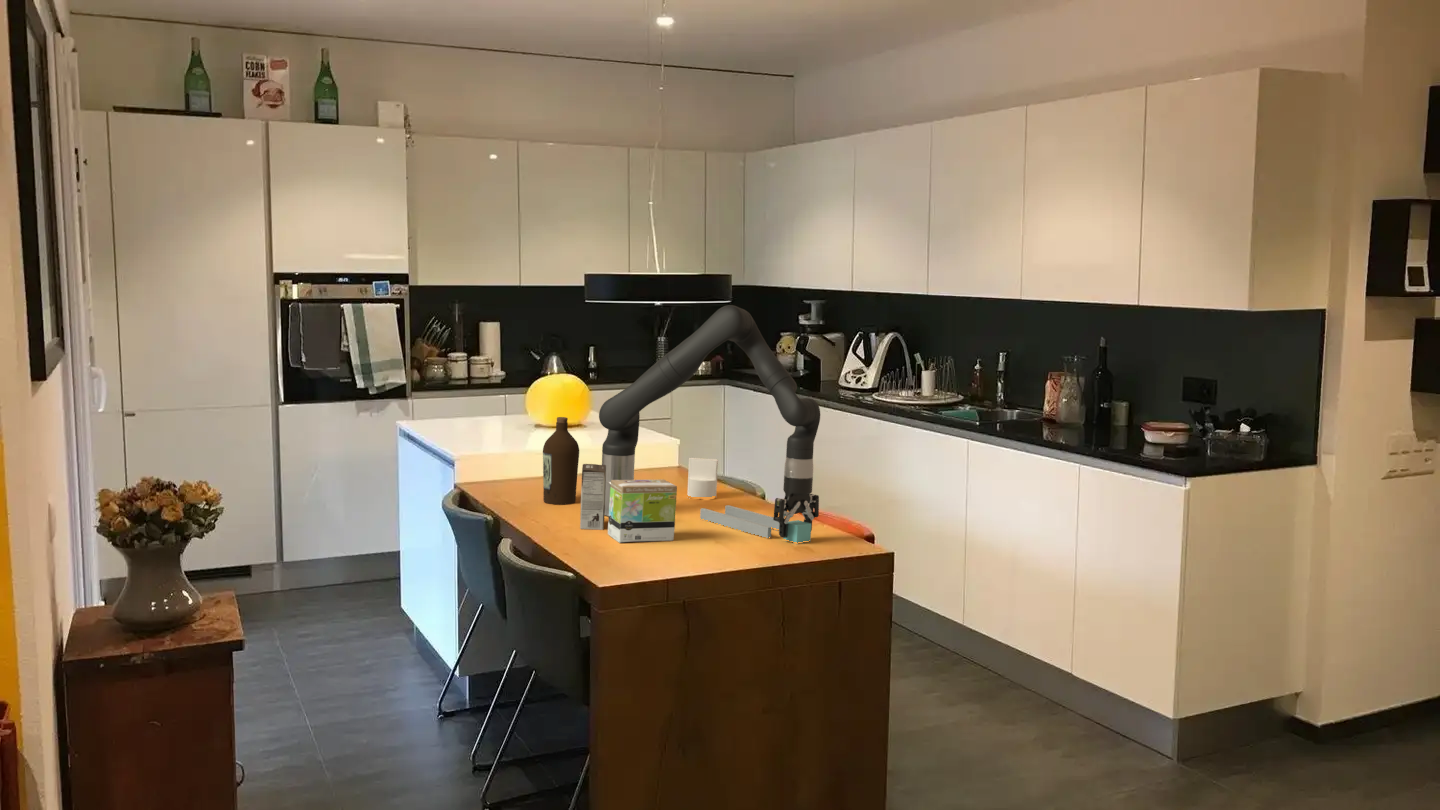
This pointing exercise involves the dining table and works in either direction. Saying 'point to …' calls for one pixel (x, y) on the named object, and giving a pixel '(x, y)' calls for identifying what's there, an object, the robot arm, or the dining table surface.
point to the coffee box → (593, 496)
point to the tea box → (642, 510)
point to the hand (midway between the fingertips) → (795, 535)
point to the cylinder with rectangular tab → (702, 477)
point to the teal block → (798, 531)
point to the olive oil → (560, 465)
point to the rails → (742, 520)
